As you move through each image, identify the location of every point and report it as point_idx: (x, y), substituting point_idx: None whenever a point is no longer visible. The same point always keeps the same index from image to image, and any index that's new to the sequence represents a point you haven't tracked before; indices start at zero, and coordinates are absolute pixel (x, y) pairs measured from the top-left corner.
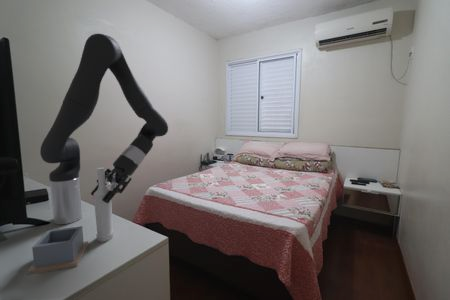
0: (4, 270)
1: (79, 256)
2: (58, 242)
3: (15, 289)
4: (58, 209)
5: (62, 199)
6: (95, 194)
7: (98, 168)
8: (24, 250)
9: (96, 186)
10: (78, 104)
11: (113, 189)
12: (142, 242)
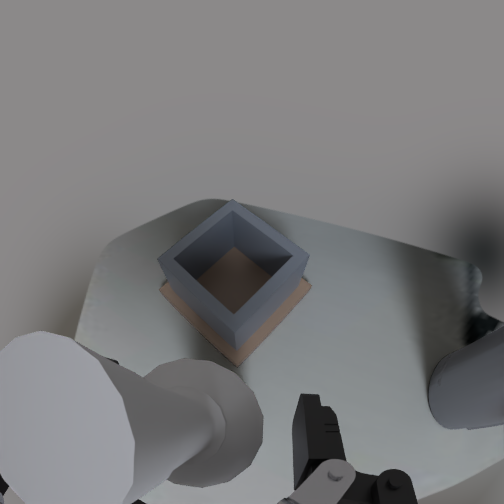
0: (295, 215)
1: (178, 307)
2: (193, 239)
3: (206, 207)
4: (474, 345)
5: (494, 345)
6: (186, 361)
7: (52, 360)
8: (355, 259)
9: (325, 443)
10: None
11: None
12: None
